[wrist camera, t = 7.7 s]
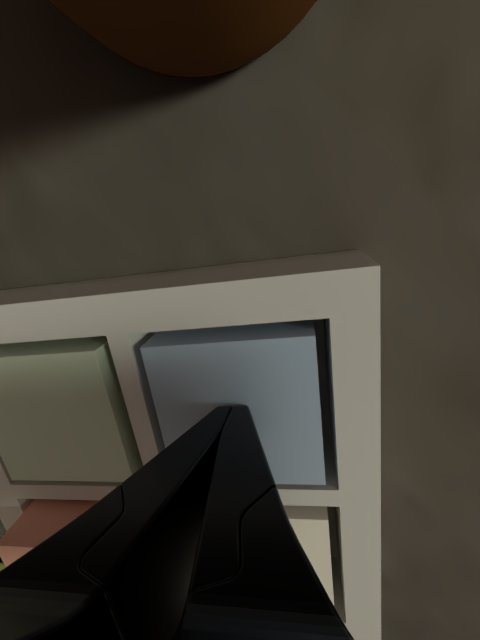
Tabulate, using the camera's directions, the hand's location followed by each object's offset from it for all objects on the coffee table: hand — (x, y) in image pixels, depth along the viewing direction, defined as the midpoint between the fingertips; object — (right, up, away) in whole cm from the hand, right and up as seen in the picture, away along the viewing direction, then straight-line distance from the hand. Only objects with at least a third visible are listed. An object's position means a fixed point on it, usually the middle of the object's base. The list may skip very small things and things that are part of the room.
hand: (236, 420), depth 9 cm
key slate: (0, +1, +2) cm, 2 cm away
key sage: (-5, 0, +3) cm, 6 cm away
